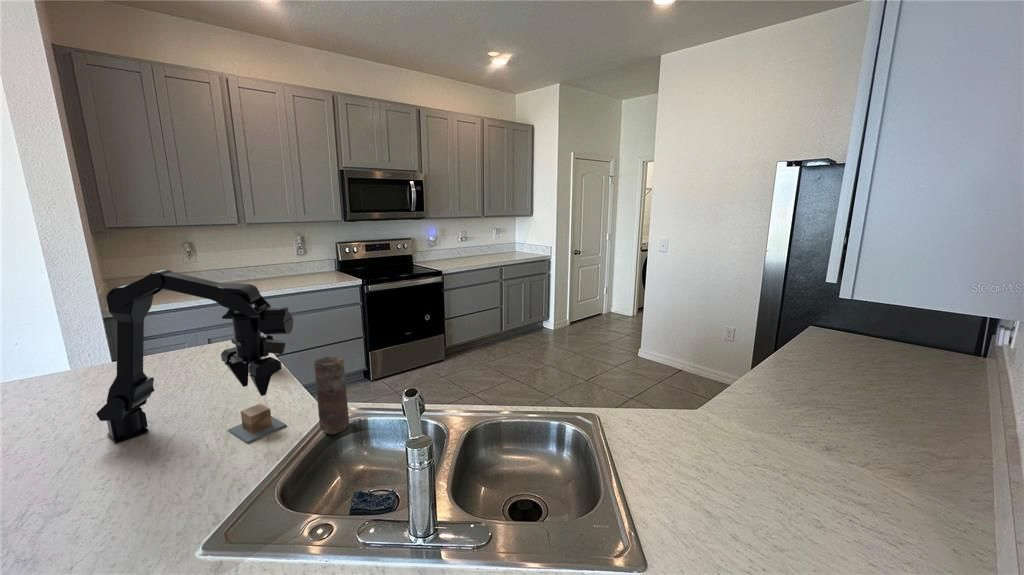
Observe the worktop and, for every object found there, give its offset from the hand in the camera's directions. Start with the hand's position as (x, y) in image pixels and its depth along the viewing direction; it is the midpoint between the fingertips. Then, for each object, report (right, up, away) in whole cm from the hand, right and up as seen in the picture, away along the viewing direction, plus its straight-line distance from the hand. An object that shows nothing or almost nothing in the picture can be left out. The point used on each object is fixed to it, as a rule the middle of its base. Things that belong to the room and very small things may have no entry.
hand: (254, 390), depth 108 cm
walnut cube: (-1, -10, +2) cm, 11 cm away
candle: (+19, -11, +4) cm, 23 cm away
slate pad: (-1, -11, +2) cm, 11 cm away
